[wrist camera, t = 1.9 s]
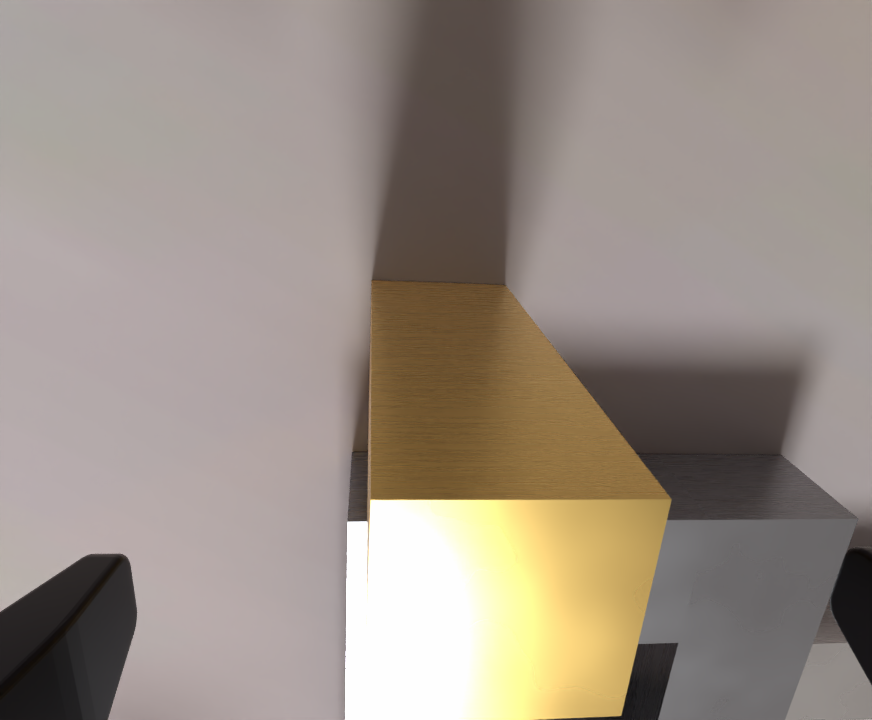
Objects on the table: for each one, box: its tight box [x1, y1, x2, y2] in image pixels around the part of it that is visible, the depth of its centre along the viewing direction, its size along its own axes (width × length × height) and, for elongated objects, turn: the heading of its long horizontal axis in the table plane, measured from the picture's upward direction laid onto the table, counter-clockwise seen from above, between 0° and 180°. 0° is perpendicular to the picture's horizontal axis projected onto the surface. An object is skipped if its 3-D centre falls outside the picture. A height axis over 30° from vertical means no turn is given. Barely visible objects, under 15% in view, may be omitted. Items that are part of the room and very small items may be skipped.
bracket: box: [345, 452, 872, 720], centre depth 18 cm, size 18×12×3 cm, turn 87°
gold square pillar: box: [365, 280, 672, 720], centre depth 11 cm, size 3×3×9 cm
